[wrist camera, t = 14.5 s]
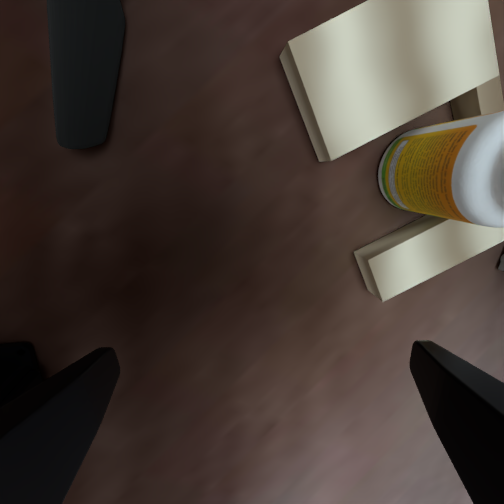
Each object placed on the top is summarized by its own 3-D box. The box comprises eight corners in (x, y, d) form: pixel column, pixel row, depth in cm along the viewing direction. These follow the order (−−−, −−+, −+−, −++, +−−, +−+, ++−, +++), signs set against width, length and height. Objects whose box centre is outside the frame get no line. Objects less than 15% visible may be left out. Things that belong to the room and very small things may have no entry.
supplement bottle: (391, 223, 20) (540, 268, 11) (363, 155, 19) (511, 141, 9) (456, 184, 20) (664, 197, 11) (434, 112, 18) (657, 54, 9)
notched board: (367, 290, 22) (382, 301, 20) (279, 56, 16) (287, 41, 14) (495, 225, 21) (523, 231, 20) (447, -31, 16) (479, -57, 14)
